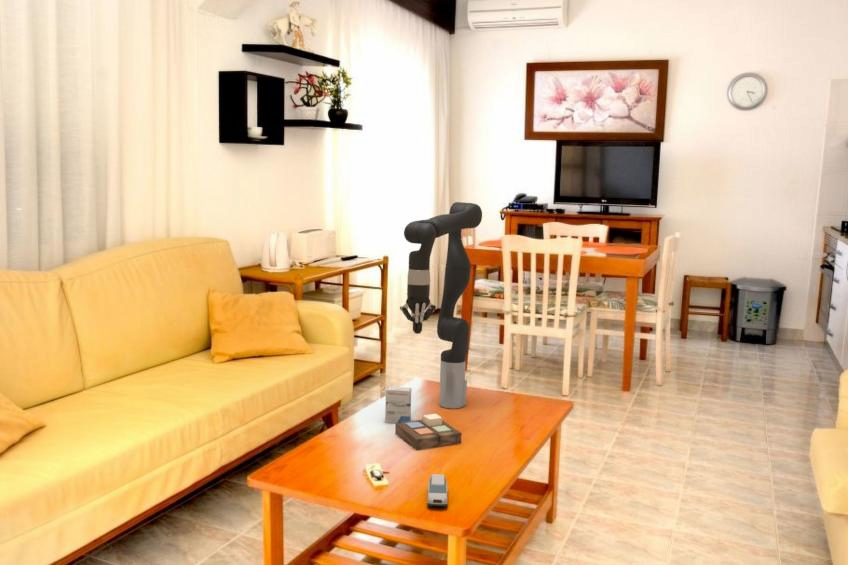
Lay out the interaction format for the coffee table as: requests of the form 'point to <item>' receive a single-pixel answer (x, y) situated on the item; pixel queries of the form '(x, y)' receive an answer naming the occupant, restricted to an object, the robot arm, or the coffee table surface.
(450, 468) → the coffee table surface
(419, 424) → the slate key
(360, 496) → the coffee table surface
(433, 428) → the sage key
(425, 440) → the keypad housing
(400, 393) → the ink box
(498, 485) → the coffee table surface
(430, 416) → the cream key
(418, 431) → the terracotta key
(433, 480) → the toy car
